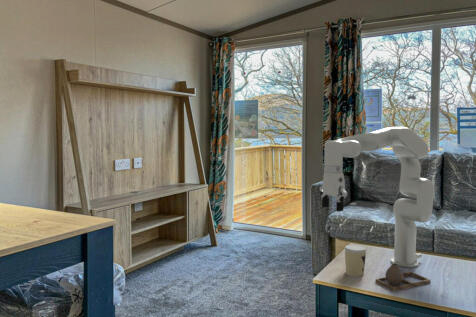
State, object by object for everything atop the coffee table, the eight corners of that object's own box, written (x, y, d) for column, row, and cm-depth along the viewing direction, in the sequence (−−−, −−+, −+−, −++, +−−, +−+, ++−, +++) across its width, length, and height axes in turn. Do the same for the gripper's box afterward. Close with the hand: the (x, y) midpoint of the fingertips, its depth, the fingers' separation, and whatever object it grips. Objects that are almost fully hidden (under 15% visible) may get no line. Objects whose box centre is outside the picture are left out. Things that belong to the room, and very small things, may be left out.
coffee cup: (366, 278, 169) (367, 251, 168) (344, 276, 171) (345, 249, 170) (364, 270, 178) (364, 244, 177) (343, 268, 180) (343, 243, 179)
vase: (401, 289, 157) (402, 268, 156) (383, 285, 161) (384, 265, 160) (404, 283, 163) (404, 263, 162) (387, 280, 166) (387, 260, 166)
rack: (405, 272, 175) (405, 269, 175) (430, 283, 164) (430, 279, 163) (370, 280, 166) (370, 276, 166) (394, 291, 155) (394, 288, 155)
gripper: (354, 171, 159) (353, 212, 160) (327, 167, 174) (327, 204, 176) (339, 171, 155) (338, 213, 157) (314, 168, 171) (313, 206, 172)
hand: (332, 208), depth 166 cm, fingers open, 9 cm apart
